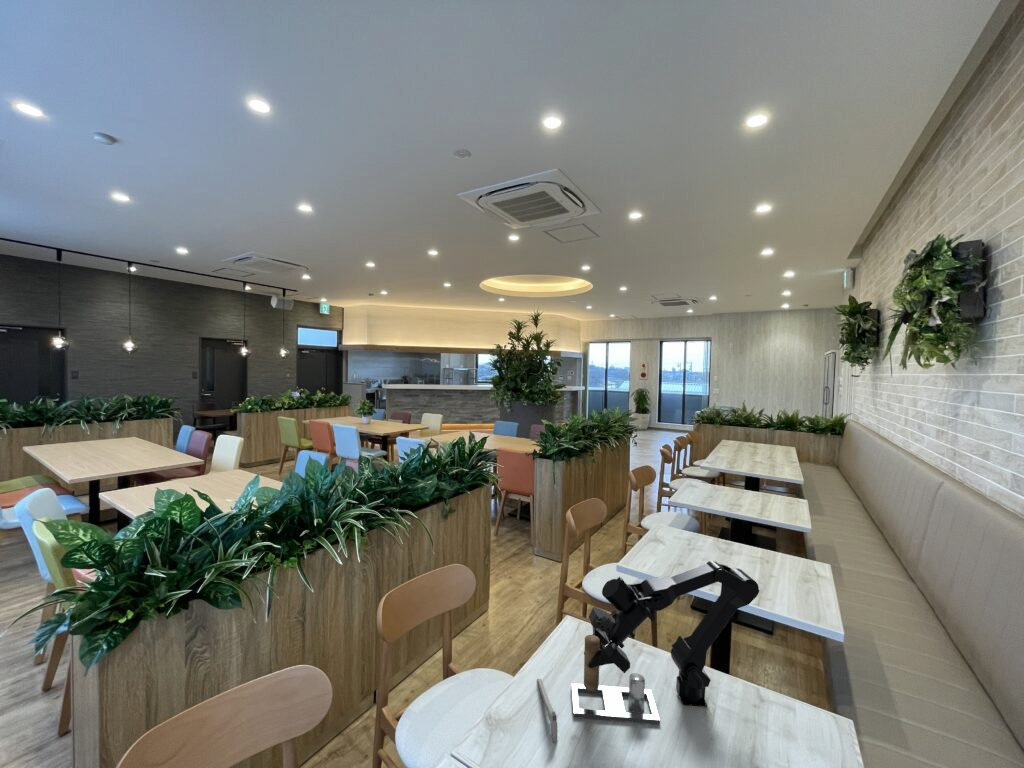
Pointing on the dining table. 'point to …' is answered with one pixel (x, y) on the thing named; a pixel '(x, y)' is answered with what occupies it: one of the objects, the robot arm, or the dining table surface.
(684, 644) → the robot arm
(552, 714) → the caliper
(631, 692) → the steel pin
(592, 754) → the dining table surface
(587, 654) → the walnut pin
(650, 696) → the plate
